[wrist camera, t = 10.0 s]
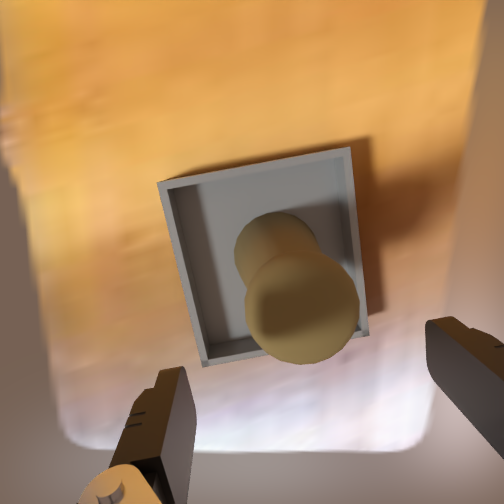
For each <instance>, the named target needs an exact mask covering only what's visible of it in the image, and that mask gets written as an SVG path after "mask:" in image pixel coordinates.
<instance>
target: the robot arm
mask: <svg viewBox="0 0 504 504" xmlns="http://www.w3.org/2000/svg"><path fill="white" fill-rule="evenodd" d="M425 336H426V360H427V367H428V370H429V373H430V375H431V377H432V379H433V380H434V382H435V383H436V384H437V385H438V386H439V387H440V388H441V390H442V391H443V392H444V393H445V394H446V395H447V396H448V397H449V399H450V400H451V401H452V402H453V403H454V404H455V405H456V406H457V407H458V409H459V410H460V411H461V412H462V413H463V414H464V415H465V416H466V418H467V419H468V420H469V421H470V422H471V423H472V424H473V426H474V427H475V428H476V429H477V430H478V431H479V432H480V433H481V434H482V436H483V437H484V438H485V439H486V440H487V441H488V442H489V443H490V445H491V446H492V447H493V448H494V449H495V450H496V451H497V452H498V454H499V455H500V456H501V457H502V458H503V459H504V344H503V343H502V342H500V341H499V340H498V339H496V338H495V337H493V336H492V335H490V334H487V333H485V332H482V331H480V330H477V329H474V328H471V329H469V328H468V327H467V326H465V325H464V324H463V323H461V322H460V321H458V320H457V319H456V318H454V317H452V316H449V317H443V318H438V319H433V320H428V321H427V322H426V324H425ZM196 425H197V418H196V409H195V404H194V400H193V396H192V393H191V389H190V385H189V381H188V378H187V374H186V371H185V368H184V367H183V366H180V367H175V368H170V369H164V370H160V371H159V374H158V377H157V380H156V383H155V386H154V388H149V389H145V390H144V391H143V392H142V393H141V395H140V396H139V397H138V398H137V399H136V400H135V401H134V404H133V406H132V409H131V412H130V414H129V417H128V419H127V422H126V424H125V428H124V430H123V432H122V435H121V437H120V440H119V442H118V445H117V448H116V450H115V453H114V455H113V458H112V461H111V463H110V466H109V468H108V469H107V470H105V471H104V472H102V473H100V474H99V475H98V476H96V477H95V478H94V479H93V480H92V481H91V482H90V483H89V484H88V485H87V487H86V488H85V489H84V491H83V493H82V494H81V496H80V499H79V502H78V503H77V504H187V497H188V489H189V481H190V473H191V465H192V457H193V450H194V442H195V434H196Z"/></svg>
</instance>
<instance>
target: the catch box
mask: <svg viewBox="0 0 504 504" xmlns="http://www.w3.org/2000/svg"><path fill="white" fill-rule="evenodd" d="M157 186H158V190H159V194H160V198H161V202H162V206H163V210H164V214H165V218H166V222H167V226H168V230H169V234H170V238H171V242H172V246H173V250H174V254H175V259H176V263H177V267H178V271H179V275H180V279H181V283H182V287H183V291H184V295H185V299H186V303H187V307H188V311H189V315H190V319H191V323H192V327H193V331H194V335H195V339H196V343H197V347H198V351H199V355H200V360H201V364H202V367H207V366H213V365H218V364H223V363H228V362H234V361H239V360H244V359H249V358H255V357H260V356H265V355H269V354H267V353H266V352H265V351H264V350H263V349H262V348H261V347H260V346H259V344H258V343H257V342H256V341H255V340H254V338H253V337H252V335H251V333H250V330H249V328H248V326H247V323H246V319H245V303H244V299H245V295H246V292H247V288H246V286H245V284H244V282H243V281H242V279H241V277H240V275H239V272H238V270H237V268H236V265H235V260H234V248H235V244H236V240H237V237H238V236H239V234H240V233H241V231H242V229H243V228H244V226H246V225H247V224H248V223H249V222H251V221H252V220H253V219H254V218H256V217H259V216H261V215H264V214H266V213H274V212H283V213H287V214H291V215H295V216H296V217H298V218H299V219H301V220H302V221H304V222H305V223H306V224H307V225H308V226H309V228H310V229H311V230H312V232H313V233H314V235H315V238H316V240H317V242H318V245H319V247H320V250H321V252H322V254H325V255H326V256H328V257H329V258H331V259H332V260H334V261H336V262H337V263H339V264H340V265H341V266H342V267H343V268H344V269H345V271H346V272H347V273H348V274H349V276H350V277H351V278H352V280H353V281H354V284H355V287H356V290H357V293H358V297H359V300H360V316H359V321H358V323H357V326H356V329H355V332H354V334H353V336H352V337H351V338H350V339H354V338H359V337H365V336H370V335H369V325H368V316H367V306H366V296H365V286H364V276H363V267H362V257H361V247H360V237H359V227H358V217H357V208H356V198H355V188H354V178H353V168H352V159H351V149H350V147H342V148H335V149H330V150H324V151H319V152H314V153H308V154H303V155H298V156H292V157H287V158H281V159H276V160H271V161H265V162H260V163H255V164H249V165H244V166H239V167H233V168H228V169H223V170H217V171H212V172H207V173H201V174H196V175H190V176H185V177H180V178H174V179H169V180H164V181H161V182H158V183H157Z"/></svg>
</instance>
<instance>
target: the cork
mask: <svg viewBox="0 0 504 504" xmlns="http://www.w3.org/2000/svg"><path fill="white" fill-rule="evenodd" d="M234 260H235V265H236V268H237V270H238V272H239V275H240V277H241V279H242V281H243V282H244V284H245V286H246V288H247V292H246V295H245V299H244V303H245V319H246V323H247V326H248V328H249V330H250V333H251V335H252V337H253V338H254V340H255V341H256V342H257V343H258V344H259V346H260V347H261V348H262V349H263V350H264V351H265V352H266V353H267V354H269V355H271V356H273V357H274V358H276V359H278V360H280V361H284V362H288V363H293V364H298V365H302V364H314V363H318V362H320V361H323V360H326V359H328V358H330V357H332V356H333V355H335V354H336V353H337V352H339V351H340V350H341V349H343V347H344V346H345V345H346V343H347V342H348V341H349V340H350V338H351V337H352V336H353V334H354V332H355V329H356V326H357V323H358V321H359V316H360V300H359V297H358V293H357V290H356V287H355V284H354V281H353V280H352V278H351V277H350V276H349V274H348V273H347V272H346V271H345V269H344V268H343V267H342V266H341V265H340V264H339V263H337V262H336V261H334V260H332V259H331V258H329V257H328V256H326V255H325V254H322V252H321V250H320V247H319V245H318V242H317V240H316V238H315V235H314V233H313V232H312V230H311V229H310V228H309V226H308V225H307V224H306V223H305V222H304V221H302V220H301V219H299V218H298V217H296V216H295V215H291V214H287V213H283V212H274V213H266V214H264V215H261V216H259V217H256V218H254V219H253V220H252V221H251V222H249V223H248V224H247V225H246V226H244V228H243V229H242V231H241V233H240V234H239V236H238V237H237V240H236V244H235V248H234Z"/></svg>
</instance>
